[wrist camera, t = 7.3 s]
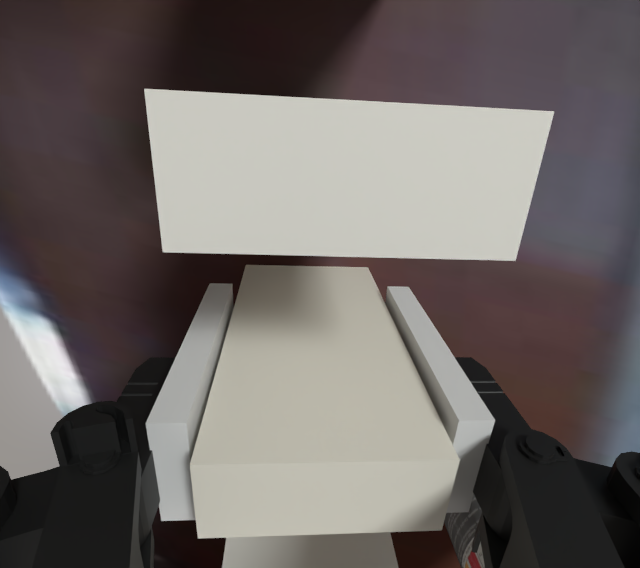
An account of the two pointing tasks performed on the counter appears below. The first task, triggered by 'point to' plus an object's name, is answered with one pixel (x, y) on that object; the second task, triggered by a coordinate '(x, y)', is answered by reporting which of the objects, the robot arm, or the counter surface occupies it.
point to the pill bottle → (465, 535)
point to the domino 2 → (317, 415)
